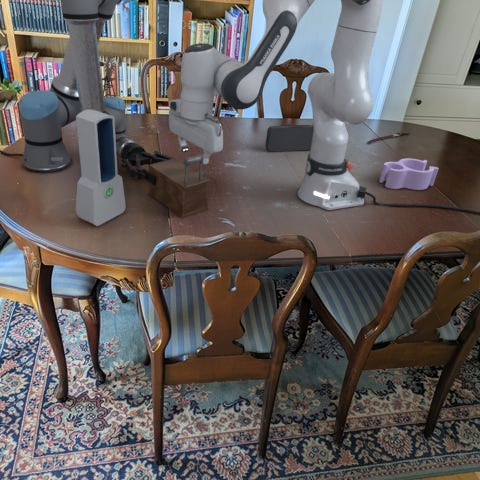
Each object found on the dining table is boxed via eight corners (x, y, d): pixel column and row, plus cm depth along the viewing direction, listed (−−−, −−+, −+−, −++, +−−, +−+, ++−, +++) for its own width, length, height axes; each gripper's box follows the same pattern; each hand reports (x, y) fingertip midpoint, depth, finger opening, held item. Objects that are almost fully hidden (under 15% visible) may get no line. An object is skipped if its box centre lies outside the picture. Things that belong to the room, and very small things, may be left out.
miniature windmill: (115, 134, 188) (111, 55, 172) (96, 130, 189) (89, 52, 173) (124, 127, 195) (121, 51, 179) (105, 123, 196) (100, 48, 180)
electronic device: (94, 228, 128) (85, 122, 112) (75, 219, 131) (63, 114, 115) (126, 211, 138) (122, 111, 121) (108, 203, 141) (101, 104, 124)
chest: (207, 208, 144) (208, 182, 139) (182, 217, 138) (182, 189, 133) (173, 186, 154) (174, 161, 149) (149, 194, 148) (148, 167, 143)
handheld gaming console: (315, 147, 196) (319, 124, 190) (317, 149, 194) (322, 126, 188) (264, 149, 189) (267, 125, 183) (266, 152, 187) (269, 127, 181)
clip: (392, 192, 166) (397, 174, 162) (373, 176, 175) (377, 159, 172) (437, 188, 172) (443, 171, 168) (416, 174, 182) (422, 157, 178)
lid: (210, 182, 138) (211, 155, 134) (184, 190, 133) (185, 162, 128) (174, 161, 149) (174, 135, 144) (148, 167, 143) (148, 140, 139)
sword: (405, 131, 223) (406, 129, 223) (410, 133, 221) (411, 131, 221) (362, 143, 208) (363, 140, 207) (367, 145, 206) (368, 143, 205)
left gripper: (157, 156, 167) (196, 179, 154) (101, 169, 154) (138, 196, 141) (157, 136, 163) (197, 158, 150) (99, 148, 150) (137, 173, 137)
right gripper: (230, 118, 121) (226, 168, 128) (183, 97, 132) (181, 143, 140) (212, 122, 117) (208, 173, 124) (164, 99, 129) (164, 147, 136)
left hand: (168, 176), depth 145 cm, fingers closed on chest, 9 cm apart
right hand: (194, 157), depth 132 cm, fingers open, 8 cm apart
